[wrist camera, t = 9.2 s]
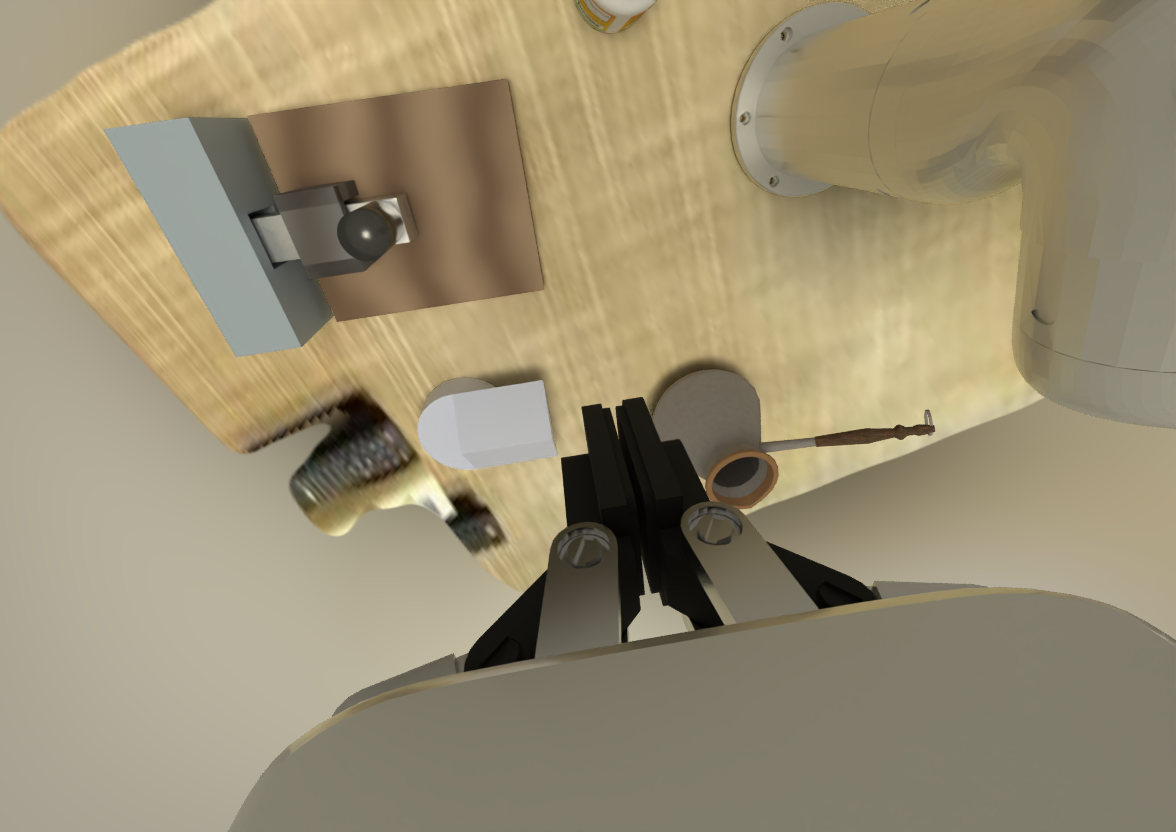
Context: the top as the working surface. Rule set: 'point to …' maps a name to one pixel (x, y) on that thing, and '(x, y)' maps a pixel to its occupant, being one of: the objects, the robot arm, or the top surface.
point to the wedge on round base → (486, 424)
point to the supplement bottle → (612, 13)
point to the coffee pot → (739, 435)
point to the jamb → (223, 227)
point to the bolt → (347, 229)
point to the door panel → (408, 196)
